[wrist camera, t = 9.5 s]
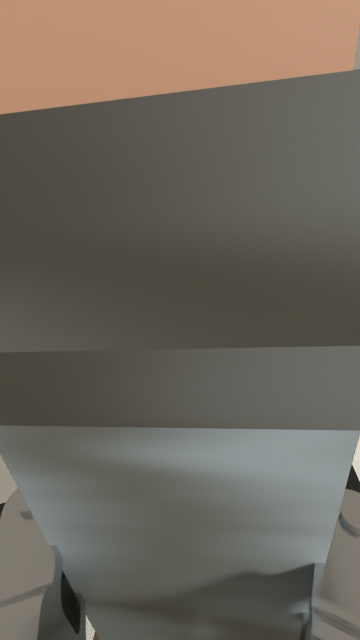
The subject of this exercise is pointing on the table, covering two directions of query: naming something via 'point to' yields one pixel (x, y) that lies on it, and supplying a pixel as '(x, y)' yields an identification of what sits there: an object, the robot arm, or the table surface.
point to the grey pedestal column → (184, 347)
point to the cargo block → (164, 46)
